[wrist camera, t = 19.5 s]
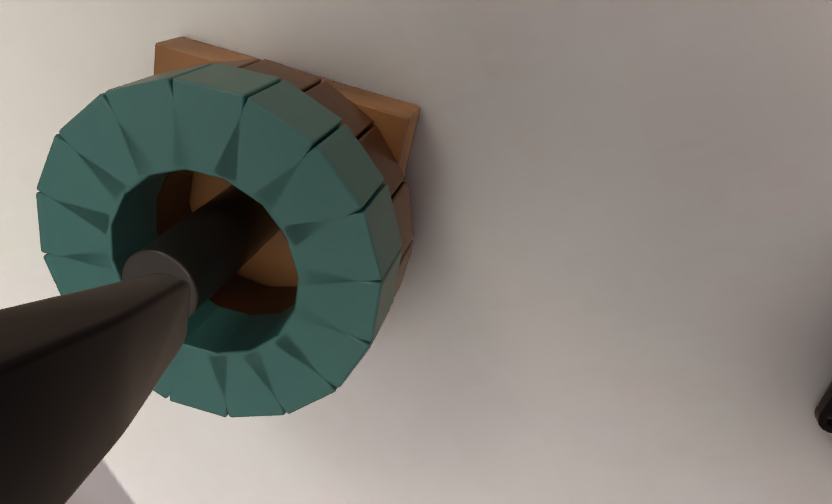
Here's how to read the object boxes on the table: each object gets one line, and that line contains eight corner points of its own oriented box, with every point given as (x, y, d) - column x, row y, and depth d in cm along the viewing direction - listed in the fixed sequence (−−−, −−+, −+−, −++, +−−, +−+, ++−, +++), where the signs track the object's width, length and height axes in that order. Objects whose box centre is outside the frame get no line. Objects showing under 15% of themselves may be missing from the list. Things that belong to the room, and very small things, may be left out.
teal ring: (428, 111, 17) (408, 133, 15) (374, 408, 21) (353, 455, 19) (81, 30, 18) (21, 42, 16) (96, 328, 22) (50, 366, 21)
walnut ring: (450, 121, 19) (436, 141, 17) (371, 380, 24) (352, 419, 22) (141, 16, 20) (94, 25, 18) (120, 286, 24) (80, 317, 22)
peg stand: (421, 106, 21) (344, 186, 14) (370, 319, 24) (290, 463, 18) (180, 35, 22) (1, 80, 15) (166, 253, 25) (17, 366, 19)
